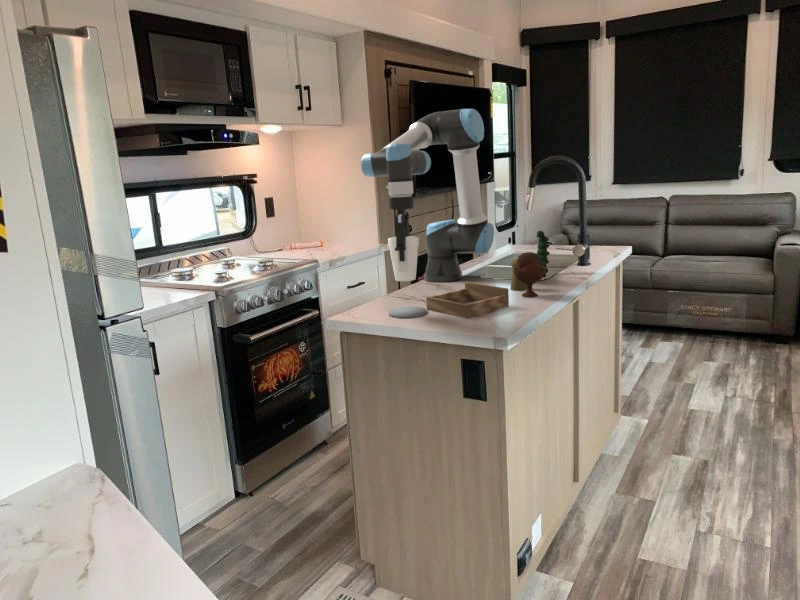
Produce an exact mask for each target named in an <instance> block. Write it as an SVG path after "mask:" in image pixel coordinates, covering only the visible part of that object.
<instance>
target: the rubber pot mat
mask: <svg viewBox="0 0 800 600" xmlns="http://www.w3.org/2000/svg"><path fill="white" fill-rule="evenodd" d="M427 314H428V311H427V308H425V307H422V306H400V307H396V308H393V309H391V310H390V309H389V311H388V316H389V315H390V316H389V317H391V316H392V317H391V318H394V317H396V318H397V319H412V318H419V317H423V316H425V315H427ZM396 318H395V319H396Z"/></svg>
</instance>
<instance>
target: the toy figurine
mask: <svg viewBox="0 0 800 600" xmlns="http://www.w3.org/2000/svg"><path fill="white" fill-rule="evenodd" d="M536 238H538V243H537V251H536V253H535V252H532V251H531V252H530V251H529V252H526V253H531V254H533V255H534V256H535V257H536V259H538V261H539V262H540V266H543V267H545V268H546V273H545V275H544V276H543V278H547V277H546V276H547V274H548V273H549V269H548V268H547V265H548V264H549V262H550V261H549V258H548V256H549V255H550V251H548V248H550V244H549V243H548V241H549V237H547V236H546V235H545V232H544V231H543V230H538V231H537V232H536Z"/></svg>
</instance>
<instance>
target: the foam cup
mask: <svg viewBox="0 0 800 600" xmlns="http://www.w3.org/2000/svg"><path fill="white" fill-rule="evenodd" d="M419 238H420V237H419V236H415V235H410V236H408V237H406V250H407V267H408V272H399V270H398V252H397V251H395V248H396V236H393V237H389V238H387V245H388V248H389V252H390V258H391V263H392V268H393V274H394V278H395V281H397V282H410V281H415V280H416V278H417V266H418V253H419V246H420V239H419Z"/></svg>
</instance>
